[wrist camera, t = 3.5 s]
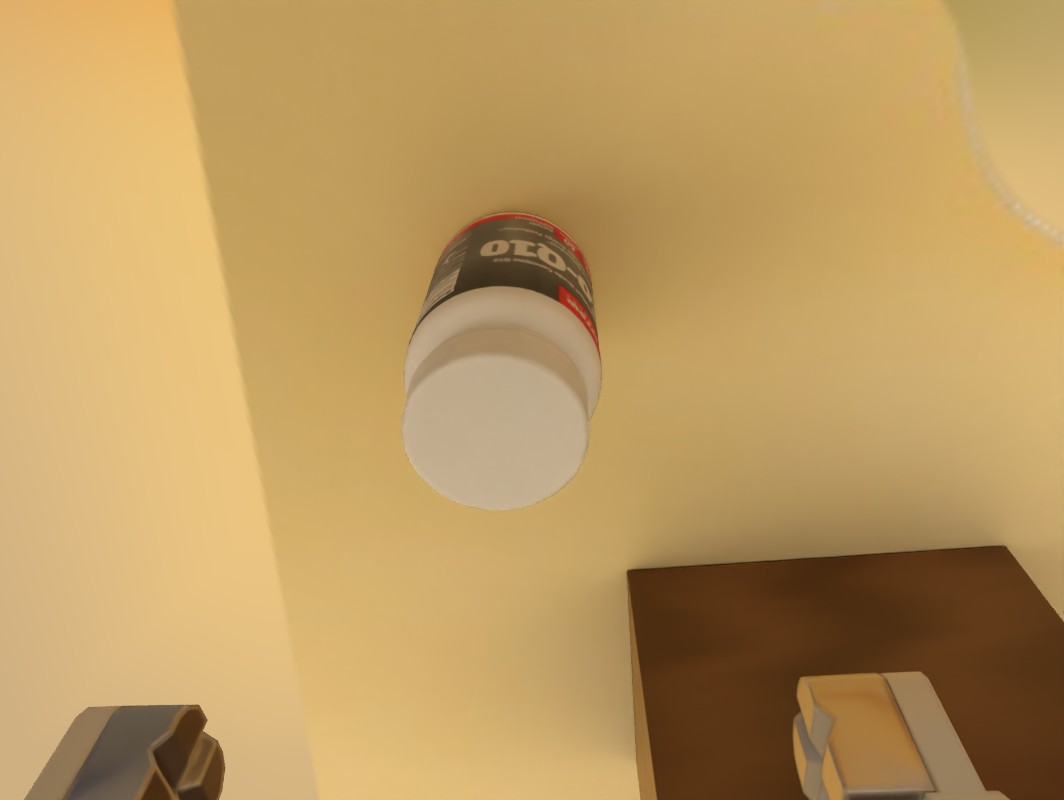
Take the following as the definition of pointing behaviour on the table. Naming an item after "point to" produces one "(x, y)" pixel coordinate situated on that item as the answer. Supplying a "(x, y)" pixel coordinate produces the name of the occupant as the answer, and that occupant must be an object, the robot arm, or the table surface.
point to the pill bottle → (503, 365)
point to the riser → (840, 664)
